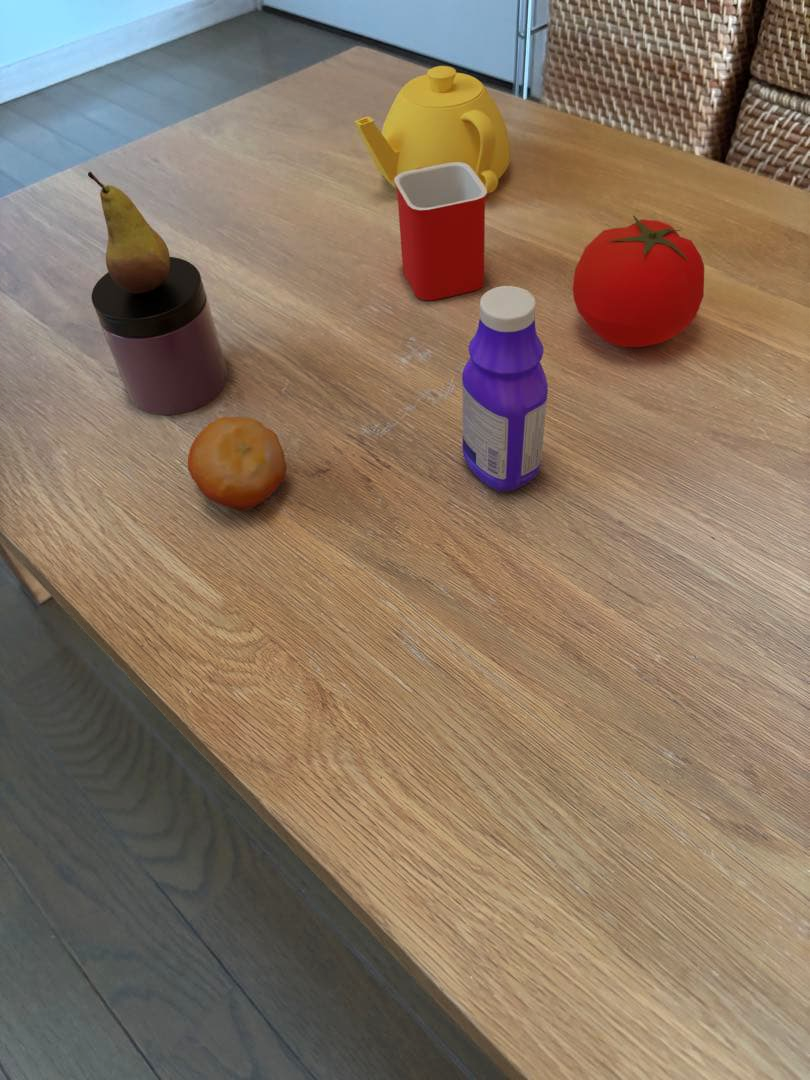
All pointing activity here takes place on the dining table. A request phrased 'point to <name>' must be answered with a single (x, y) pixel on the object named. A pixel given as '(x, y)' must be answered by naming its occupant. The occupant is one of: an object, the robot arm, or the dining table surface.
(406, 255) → the mug
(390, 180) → the teapot
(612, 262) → the tomato
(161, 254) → the fruit
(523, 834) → the dining table surface
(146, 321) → the jar lid
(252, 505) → the fruit
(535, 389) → the bottle
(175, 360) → the jar
